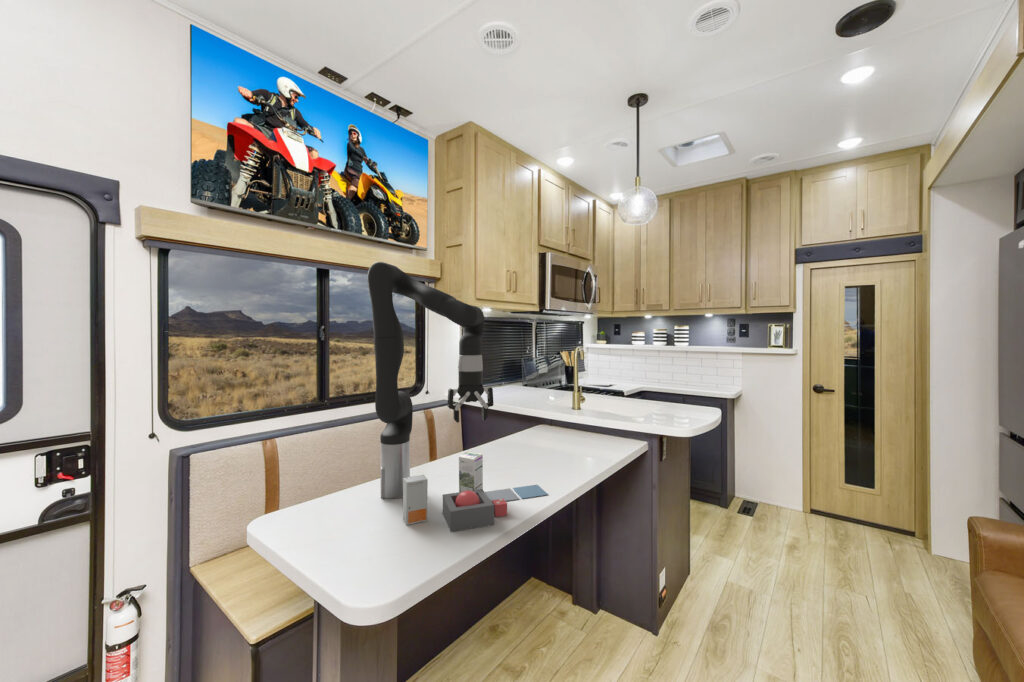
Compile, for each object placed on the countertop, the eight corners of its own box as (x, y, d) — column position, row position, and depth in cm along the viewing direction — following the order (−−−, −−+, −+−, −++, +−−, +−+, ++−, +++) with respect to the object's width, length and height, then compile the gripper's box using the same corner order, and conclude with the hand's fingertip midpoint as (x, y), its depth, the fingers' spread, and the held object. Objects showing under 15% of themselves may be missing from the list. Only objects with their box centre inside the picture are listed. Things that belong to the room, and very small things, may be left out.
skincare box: (406, 526, 110) (405, 482, 110) (402, 519, 114) (402, 477, 114) (428, 521, 113) (427, 478, 113) (424, 515, 117) (423, 474, 117)
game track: (458, 508, 121) (458, 507, 121) (452, 497, 130) (452, 496, 130) (548, 495, 131) (548, 494, 131) (537, 485, 140) (537, 484, 140)
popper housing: (450, 532, 107) (450, 511, 107) (442, 513, 118) (442, 494, 118) (512, 521, 113) (512, 502, 113) (498, 504, 124) (498, 486, 124)
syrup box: (483, 498, 129) (483, 453, 128) (474, 505, 123) (474, 458, 123) (468, 495, 131) (468, 451, 131) (458, 502, 126) (458, 456, 125)
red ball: (457, 523, 110) (457, 497, 110) (452, 512, 117) (452, 488, 117) (482, 519, 112) (482, 494, 112) (476, 508, 119) (476, 485, 119)
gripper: (450, 371, 121) (450, 425, 121) (495, 369, 125) (496, 421, 126) (445, 369, 128) (445, 420, 128) (489, 367, 132) (489, 417, 133)
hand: (470, 421), depth 127 cm, fingers open, 8 cm apart
